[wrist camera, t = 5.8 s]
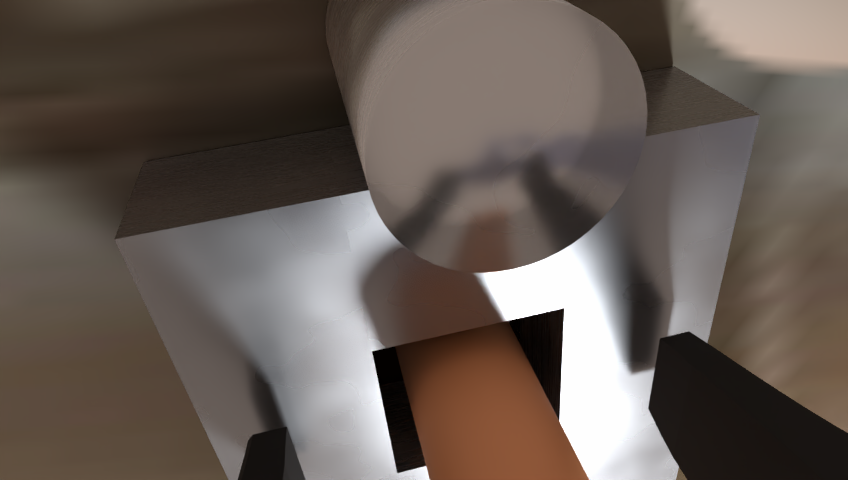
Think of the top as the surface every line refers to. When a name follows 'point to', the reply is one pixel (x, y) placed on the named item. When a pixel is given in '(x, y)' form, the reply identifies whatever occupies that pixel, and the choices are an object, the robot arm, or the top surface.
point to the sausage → (483, 409)
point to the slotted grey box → (447, 234)
